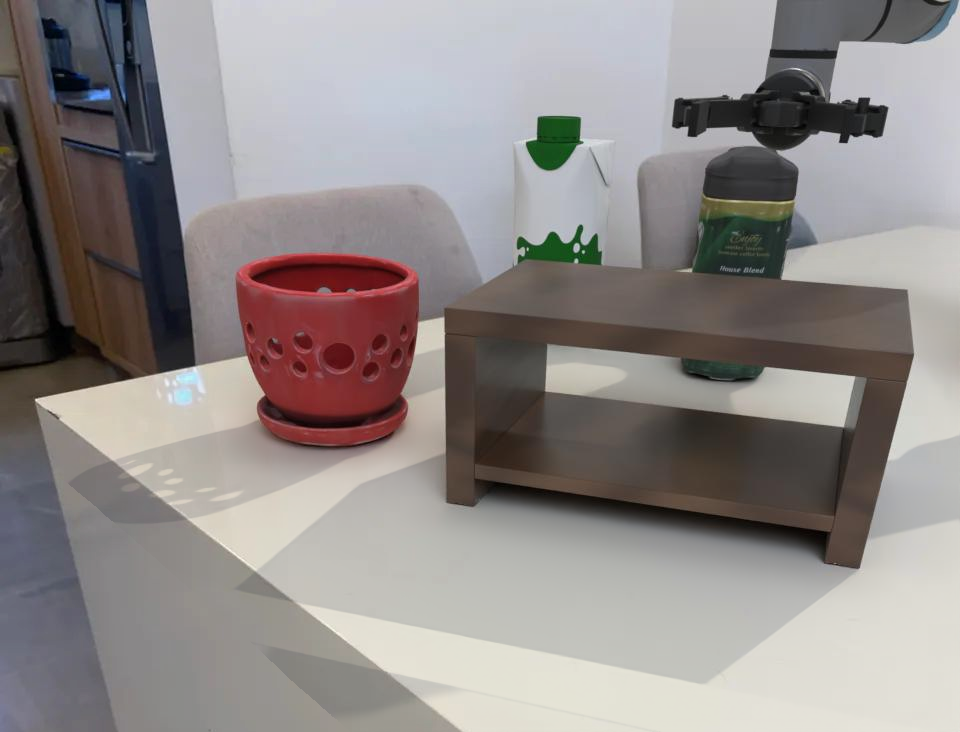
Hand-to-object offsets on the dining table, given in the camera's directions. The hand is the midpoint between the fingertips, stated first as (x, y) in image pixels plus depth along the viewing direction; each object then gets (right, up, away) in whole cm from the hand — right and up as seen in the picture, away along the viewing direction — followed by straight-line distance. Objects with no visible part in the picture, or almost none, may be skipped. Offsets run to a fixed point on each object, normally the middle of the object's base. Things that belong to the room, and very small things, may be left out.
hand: (768, 123), depth 86 cm
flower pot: (-37, -31, -12) cm, 50 cm away
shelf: (-14, -37, -21) cm, 44 cm away
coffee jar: (-3, -22, +3) cm, 22 cm away
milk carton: (-18, -15, +13) cm, 27 cm away
